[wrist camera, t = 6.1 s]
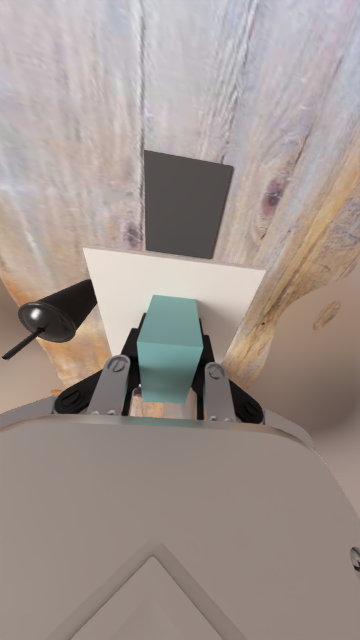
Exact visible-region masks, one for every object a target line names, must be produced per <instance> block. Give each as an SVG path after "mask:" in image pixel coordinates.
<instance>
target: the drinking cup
mask: <svg viewBox="0 0 360 640" xmlns="http://www.w3.org/2000/svg"><path fill="white" fill-rule="evenodd" d="M97 303H98V302H97V298H96V295H95V291H94V287H93V284H92V280H89V279H88V280H84V281H82V282H80V283H77V284H75V285H73V286H70V287H68V288H66V289H63V290H61V291H59V292H57V293H54V294H52V295H50V296H47V297H45V298H43V299H40V300H38V301H36V302H29V303H26V304H24V305H22V306H21V307H20V309H19V311H18V316H19V319H20V321H21V323H22V324H23V325H24V327H25V328H27V330H29V331H30V332H31V333H32V334H31V335H30V336H28V337H27V338H26V339H24V340H23V341H22V342H20V343H19V344H18V345H17V346H15V347H14V348H13V349H12V350H10V351H9V352H7V353H6V354H5V355H4V356H2V358H3V359H5V360H9V359H10V358H11V357H13V356H14V355H15V354H16V353H18V352H19V351H20V350H21V349H22V348H24V347H25V346H26V345H27V344H29V343H30V342H31V341H32V340H34V339H35V338H36V337H37V336H38V337H40V338H42V339H44V340H47V341H51V342H56V343H63V342H67V341H70V340H71V339H72V338H73V337H74V336H75V333H76V330H77V329H78V328H79V326H80V325H81V324H82V322H83V321H84V320H85V318H86V317H87V316H88V314H89V313H90V312H91V311H92V309H93V308H94V307H95V305H96V304H97Z"/></svg>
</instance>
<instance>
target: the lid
mask: <svg viewBox="0 0 360 640" xmlns="http://www.w3.org/2000/svg"><path fill="white" fill-rule="evenodd" d="M83 251H84V254H85V258H86V262H87V265H88V269H89V273H90V276H91V280H92V284H93V287H94V291H95V295H96V298H97V302H98V306H99V309H100V313H101V317H102V320H103V324H104V328H105V331H106V335H107V339H108V342H109V346H110V349H111V353H112V357H113V356H115V355H120V354H121V351H122V349H123V347H124V344H125V342H126V340H127V337H128V335H129V333H130V331H131V329H132V328H138V327H139V324H140V321H141V319H142V316H143V313H147V314H146V316H145V319H144V322H143V325H142V328H141V331H140V334H139V337H138V340H137V349H138V359H139V370H140V380H141V390H142V400H143V401H145V402H162V403H179V404H185V403H186V399H187V396H188V393H189V390H190V387H191V384H192V381H193V378H194V375H195V372H196V369H197V366H198V363H199V359H200V356H201V353H202V350H203V342H202V336H201V330H200V324H199V318H201V323H202V328H203V334H204V335H209V337H210V342H211V346H212V350H213V355H214V359H215V362H216V363H219V364H221V363H222V361H223V359H224V357H225V354H226V352H227V350H228V348H229V346H230V344H231V342H232V340H233V338H234V336H235V334H236V332H237V330H238V328H239V326H240V324H241V322H242V320H243V318H244V316H245V314H246V311H247V309H248V307H249V305H250V303H251V301H252V299H253V297H254V295H255V293H256V291H257V289H258V287H259V285H260V283H261V281H262V279H263V277H264V275H265V273H266V270H264V269H263V268H261V267H258V266H250V265H242V264H234V263H226V262H219V261H211V260H203V259H195V258H187V257H180V256H172V255H164V254H156V253H148V252H141V251H133V250H125V249H117V248H109V247H102V246H94V245H88V246H86V247H83Z"/></svg>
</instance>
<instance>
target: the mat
mask: <svg viewBox="0 0 360 640" xmlns="http://www.w3.org/2000/svg"><path fill="white" fill-rule="evenodd" d="M232 168H233V166H229V165H224V164H219V163H213V162H208V161H202V160H197V159H191V158H186V157H180V156H175V155H169V154H164V153H158V152H153V151H148V150H144V172H145V236H146V250H149V251H156V252H163V253H171V254H178V255H185V256H192V257H200V258H207V259H211V256H212V252H213V248H214V243H215V239H216V235H217V231H218V227H219V222H220V218H221V214H222V210H223V205H224V201H225V197H226V193H227V189H228V184H229V180H230V176H231V172H232Z"/></svg>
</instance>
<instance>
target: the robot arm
mask: <svg viewBox="0 0 360 640" xmlns="http://www.w3.org/2000/svg"><path fill="white" fill-rule="evenodd" d="M146 314H147V313H143V316H142V319H141V321H140V324H139V327H138V328H132V329H131V331H130V333H129V335H128V337H127V340H126V342H125V344H124V347H123V349H122V351H121V354H120V355H115V356H113V357H111V358H109V359H108V360H107V362H106V363H105V365H104V368H103V369H102V370H100V371H98V372H97V373H95V374H93V375H91V376H89V377H88V378H86V379H84V380H82V381H80V382H78V383H77V384H75V385H73V386H71V387H69V388H67V389H66V390H65V391H63V392H62V393H61V394H60V395H59V396H56V397H55V396H54V395H53V396H51V397H48V398H44V399H41V400H39V401H36V402H33V403H30V404H27V405H24V406H21V407H18V408H15V409H12V410H9V411H7V412H4V413H2V414H0V640H360V518H359V516H358V514H357V512H356V511H355V509H354V507H353V506H352V504H351V502H350V501H349V499H348V497H347V496H346V494H345V492H344V491H343V489H342V488H341V486H340V484H339V483H338V482H337V480H336V478H335V477H334V475H333V474H332V472H331V471H330V469H329V468H328V466H327V465H326V464H325V462H324V461H323V460H322V458H321V457H320V456H319V455H318V454H317V453H316V451H315V446H314V443H313V440H312V439H311V437H310V436H309V434H308V433H307V432H306V431H305V430H304V429H303V428H301V427H300V426H298V425H296V424H294V423H293V422H291V421H289V420H287V419H285V418H283V417H281V416H280V415H278V414H276V413H274V412H272V411H270V410H268V409H266V408H265V409H263V408H261V406H260V405H259V403H258V402H257V401H255V400H254V399H253V398H252V397H251V396H249V395H248V394H247V393H246V392H245V391H243V390H242V389H241V388H240V387H238V386H237V385H236V384H235V383H233V382H232V381H231V380H230V379H229V378H228V374H227V371H226V369H225V368H224V367H223V366H222V365H221V364H219V363H216V362H215V359H214V355H213V350H212V346H211V342H210V337H209V335H204V334H203V328H202V323H201V318H199V324H200V330H201V336H202V342H203V350H202V353H201V356H200V359H199V363H198V366H197V369H196V372H195V375H194V378H193V381H192V384H191V387H190V390H189V393H188V396H187V399H186V403H185V404H179V403H164V406H163V418H153V417H133V416H130V412H131V406H132V400H133V394H134V389H135V388H137V387H138V386H139V384H141V380H140V370H139V359H138V349H137V340H138V337H139V334H140V331H141V328H142V325H143V322H144V319H145V316H146Z"/></svg>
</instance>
